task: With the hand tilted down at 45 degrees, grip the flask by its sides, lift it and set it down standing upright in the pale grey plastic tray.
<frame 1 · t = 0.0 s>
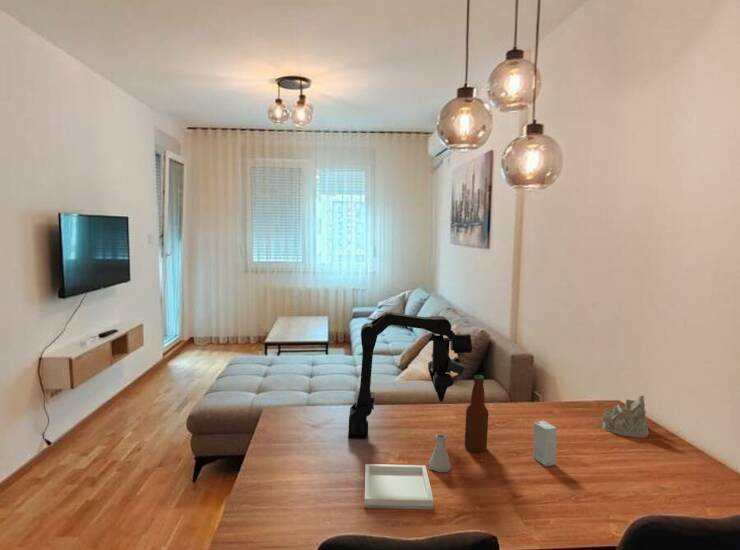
hand: (439, 396, 164), 15 cm above the table, tool pointing down, fingers open, 9 cm apart
bottle: (475, 448, 157), on the table
flask: (439, 467, 144), on the table
skincare box: (543, 461, 150), on the table
grey rock: (625, 428, 177), on the table
tray: (396, 489, 131), on the table
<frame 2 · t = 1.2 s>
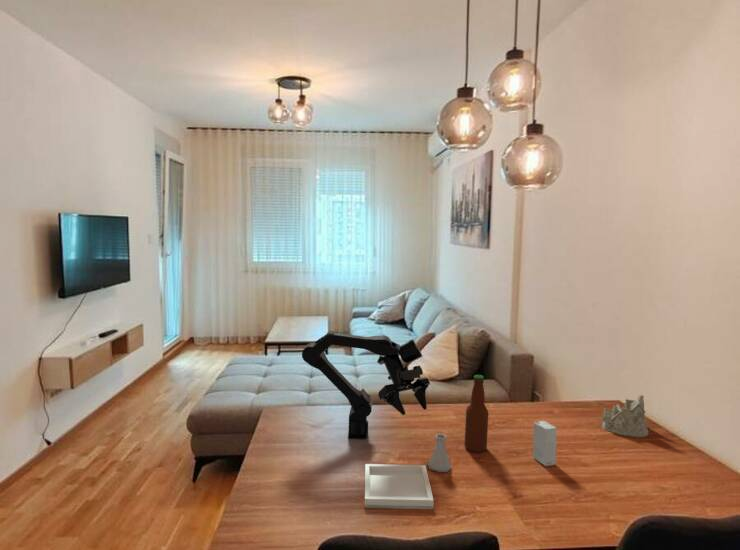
hand: (415, 411, 153), 13 cm above the table, tool tilted 45°, fingers open, 9 cm apart
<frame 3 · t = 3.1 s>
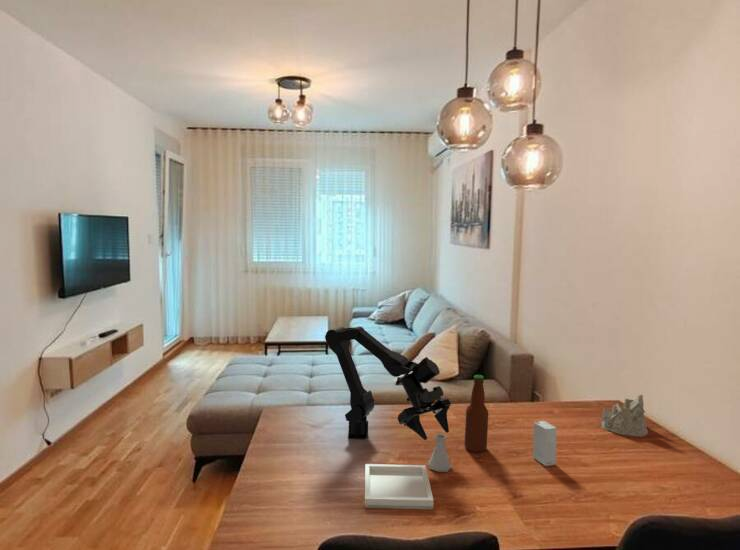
hand: (437, 435, 145), 9 cm above the table, tool tilted 45°, fingers open, 9 cm apart
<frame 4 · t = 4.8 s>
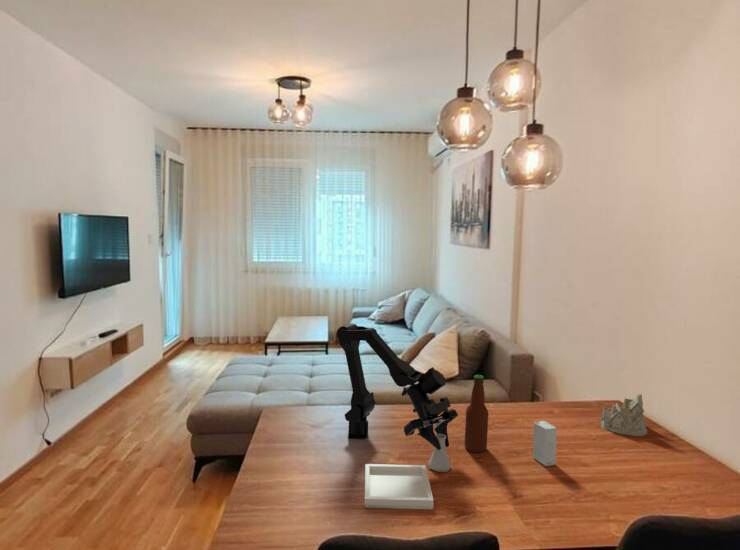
hand: (443, 448, 143), 7 cm above the table, tool tilted 45°, fingers closed on flask, 3 cm apart
flask: (439, 467, 144), on the table, touching gripper
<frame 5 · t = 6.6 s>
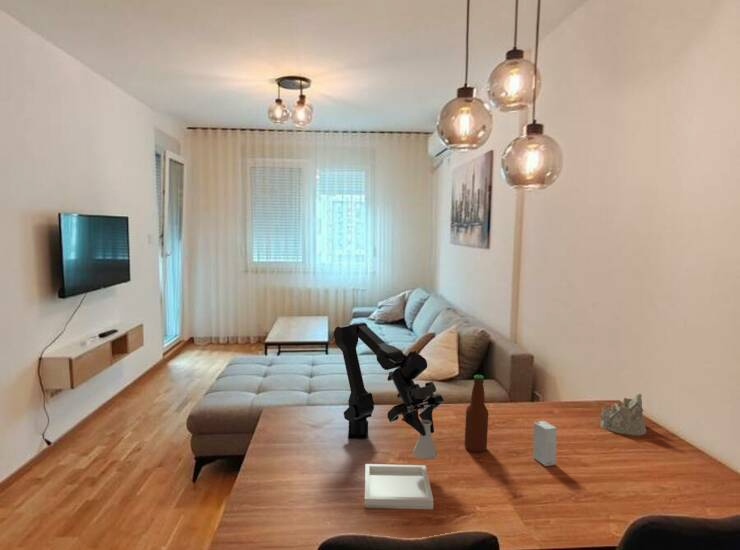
hand: (428, 434, 137), 13 cm above the table, tool tilted 45°, fingers closed on flask, 3 cm apart
flask: (424, 454, 139), point 6 cm above the table, touching gripper
when the fingers open (9 cm above the table, at t = 8.7 s): flask drops 1 cm, resting on tray.
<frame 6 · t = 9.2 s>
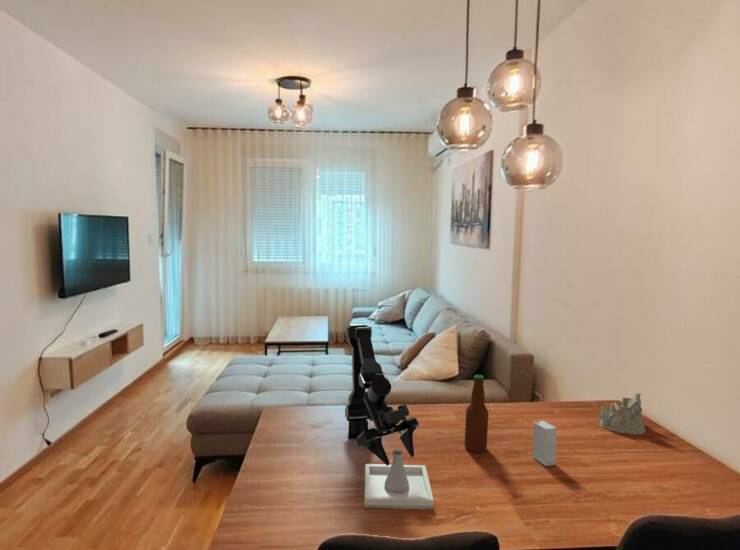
hand: (401, 460, 129), 9 cm above the table, tool tilted 45°, fingers open, 8 cm apart
flask: (396, 487, 132), point 1 cm above the table, touching tray
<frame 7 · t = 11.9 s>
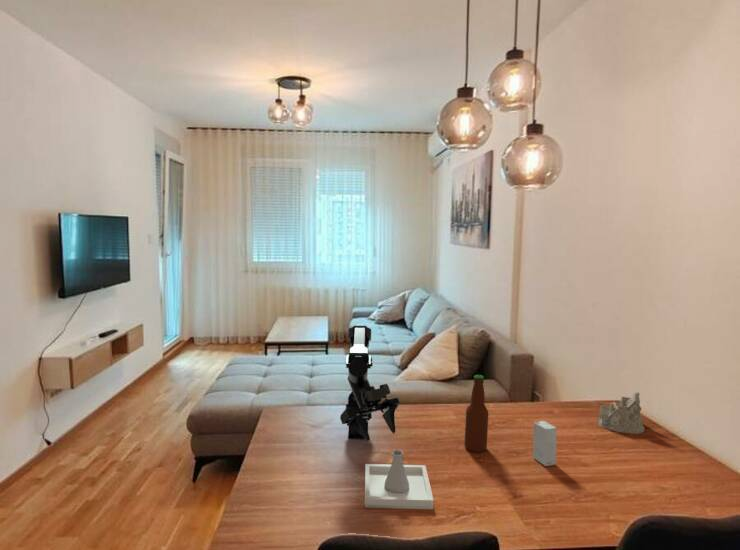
hand: (381, 436, 136), 13 cm above the table, tool tilted 45°, fingers open, 9 cm apart
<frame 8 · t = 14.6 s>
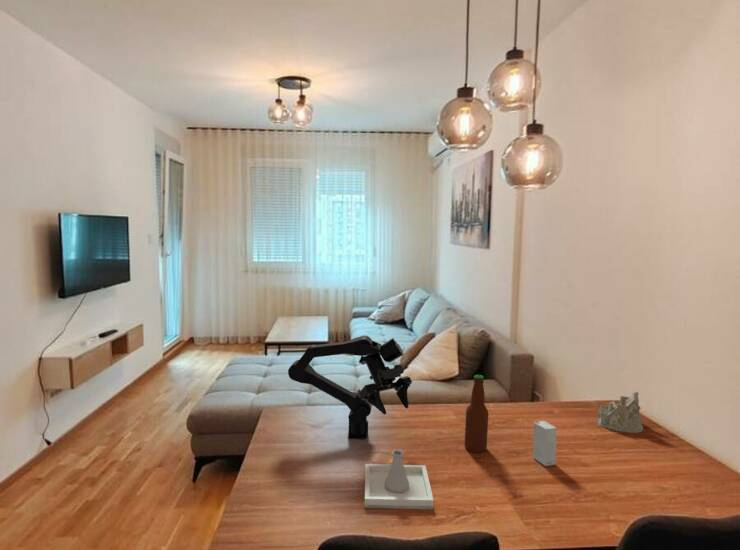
hand: (396, 410, 153), 14 cm above the table, tool tilted 45°, fingers open, 9 cm apart
at the end: flask inside the target area on the tray (0.1 cm from its centre), point 0.6 cm above the tray's base; flask tilted 0°; the gripper is holding nothing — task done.
